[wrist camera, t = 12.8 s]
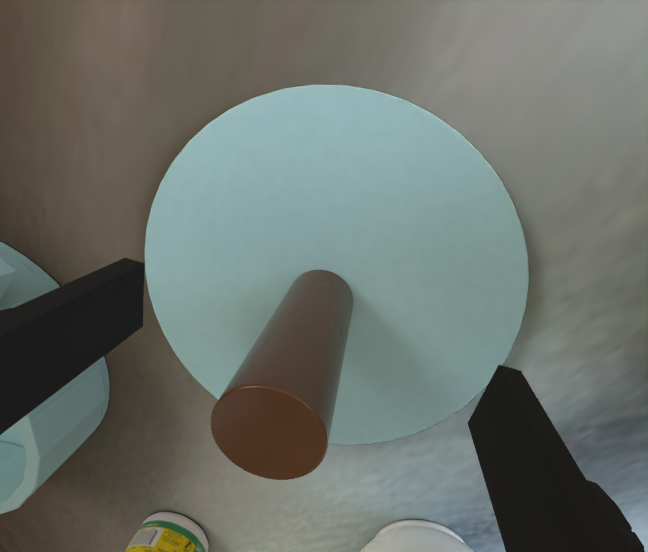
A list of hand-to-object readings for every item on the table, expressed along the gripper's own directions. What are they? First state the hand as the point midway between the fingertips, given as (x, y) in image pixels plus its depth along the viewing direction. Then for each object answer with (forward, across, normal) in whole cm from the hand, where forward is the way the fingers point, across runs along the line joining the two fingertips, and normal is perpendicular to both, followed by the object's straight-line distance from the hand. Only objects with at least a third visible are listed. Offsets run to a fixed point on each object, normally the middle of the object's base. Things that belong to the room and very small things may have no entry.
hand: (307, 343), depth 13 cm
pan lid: (+4, 0, 0) cm, 4 cm away
